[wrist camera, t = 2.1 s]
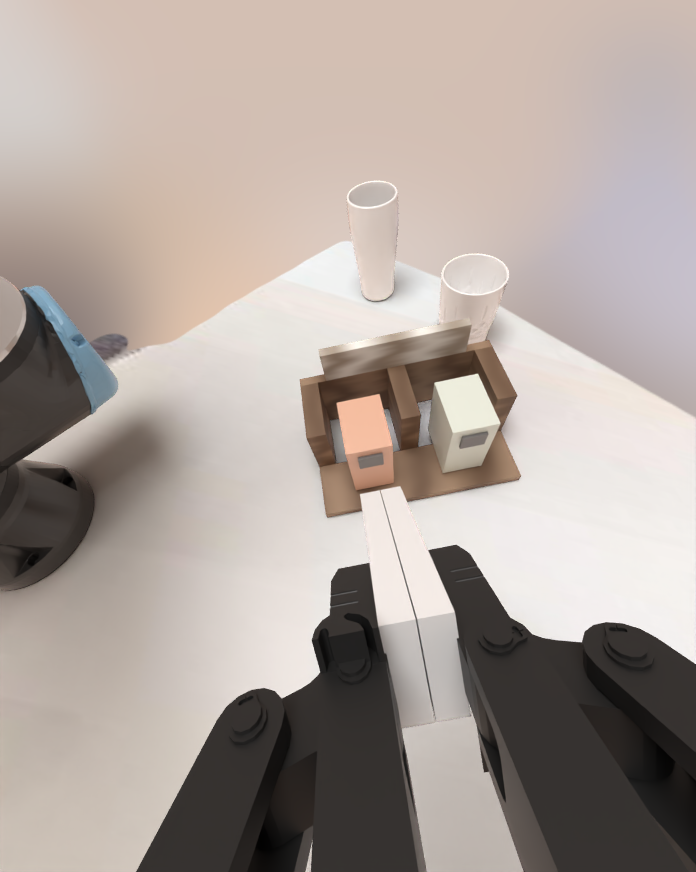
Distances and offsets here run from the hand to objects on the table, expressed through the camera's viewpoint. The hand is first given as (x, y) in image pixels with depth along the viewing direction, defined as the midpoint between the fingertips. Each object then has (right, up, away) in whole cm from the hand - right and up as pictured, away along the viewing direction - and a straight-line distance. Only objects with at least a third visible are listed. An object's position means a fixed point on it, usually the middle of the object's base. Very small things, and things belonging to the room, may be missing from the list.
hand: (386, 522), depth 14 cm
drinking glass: (+4, +27, +45) cm, 53 cm away
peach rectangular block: (+1, 0, +28) cm, 28 cm away
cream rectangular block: (+11, +2, +28) cm, 30 cm away
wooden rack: (+6, +1, +30) cm, 31 cm away
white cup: (+15, +18, +39) cm, 45 cm away
